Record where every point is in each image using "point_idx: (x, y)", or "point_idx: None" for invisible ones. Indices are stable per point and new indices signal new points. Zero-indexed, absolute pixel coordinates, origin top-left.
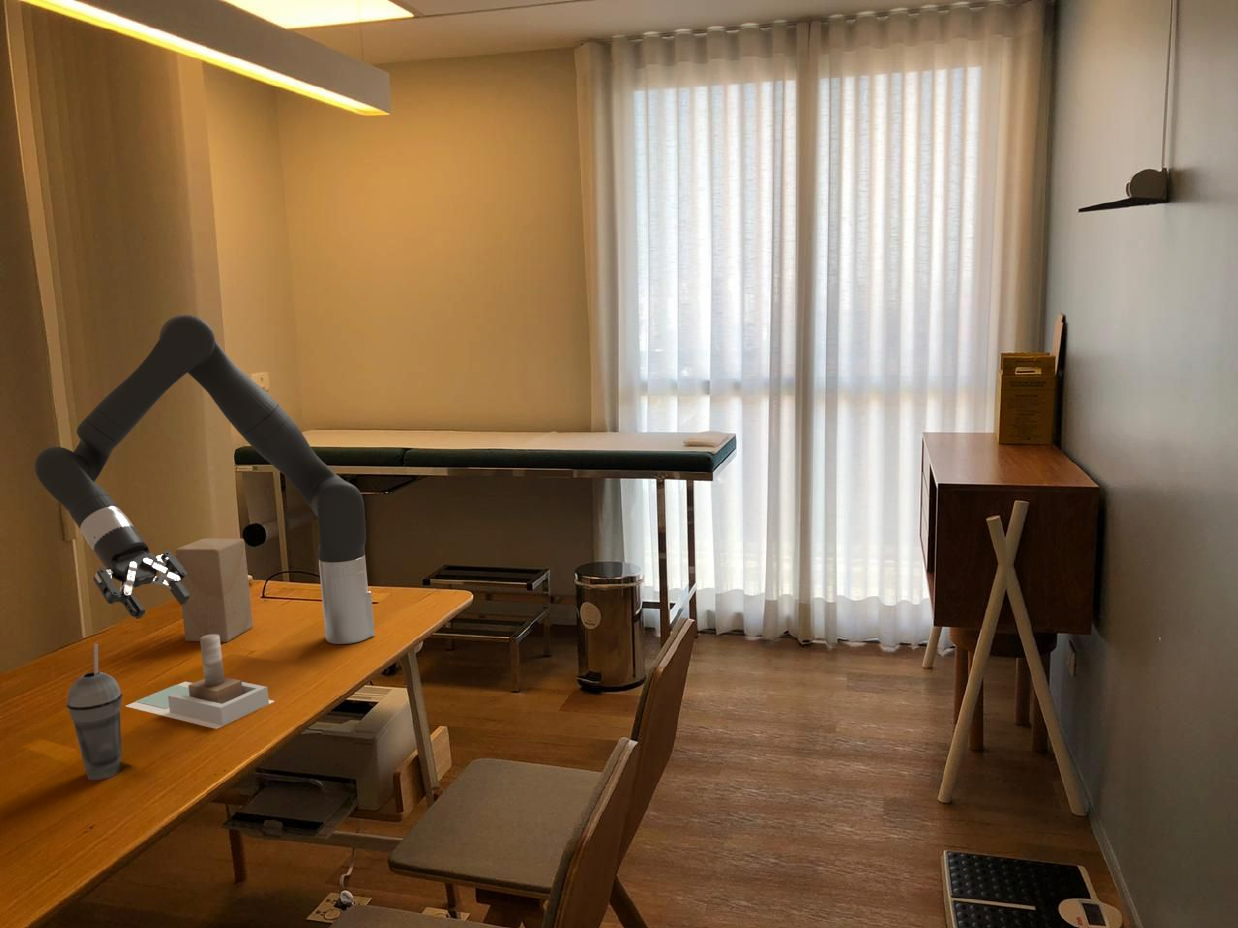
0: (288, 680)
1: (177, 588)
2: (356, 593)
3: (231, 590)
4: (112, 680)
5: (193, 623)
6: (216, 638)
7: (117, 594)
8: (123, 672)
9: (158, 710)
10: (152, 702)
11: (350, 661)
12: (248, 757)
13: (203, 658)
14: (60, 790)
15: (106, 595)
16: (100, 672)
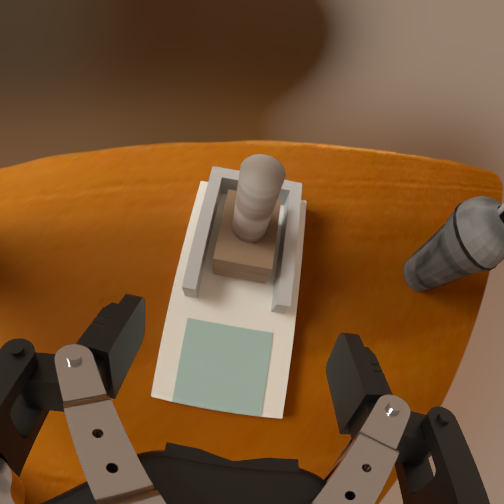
0: (93, 237)
1: (121, 339)
2: None
3: None
4: (479, 198)
5: None
6: (263, 155)
7: (438, 407)
8: None
9: (281, 341)
10: (256, 380)
11: (30, 196)
12: (328, 148)
13: (275, 204)
14: (452, 287)
15: (428, 471)
16: (495, 209)
